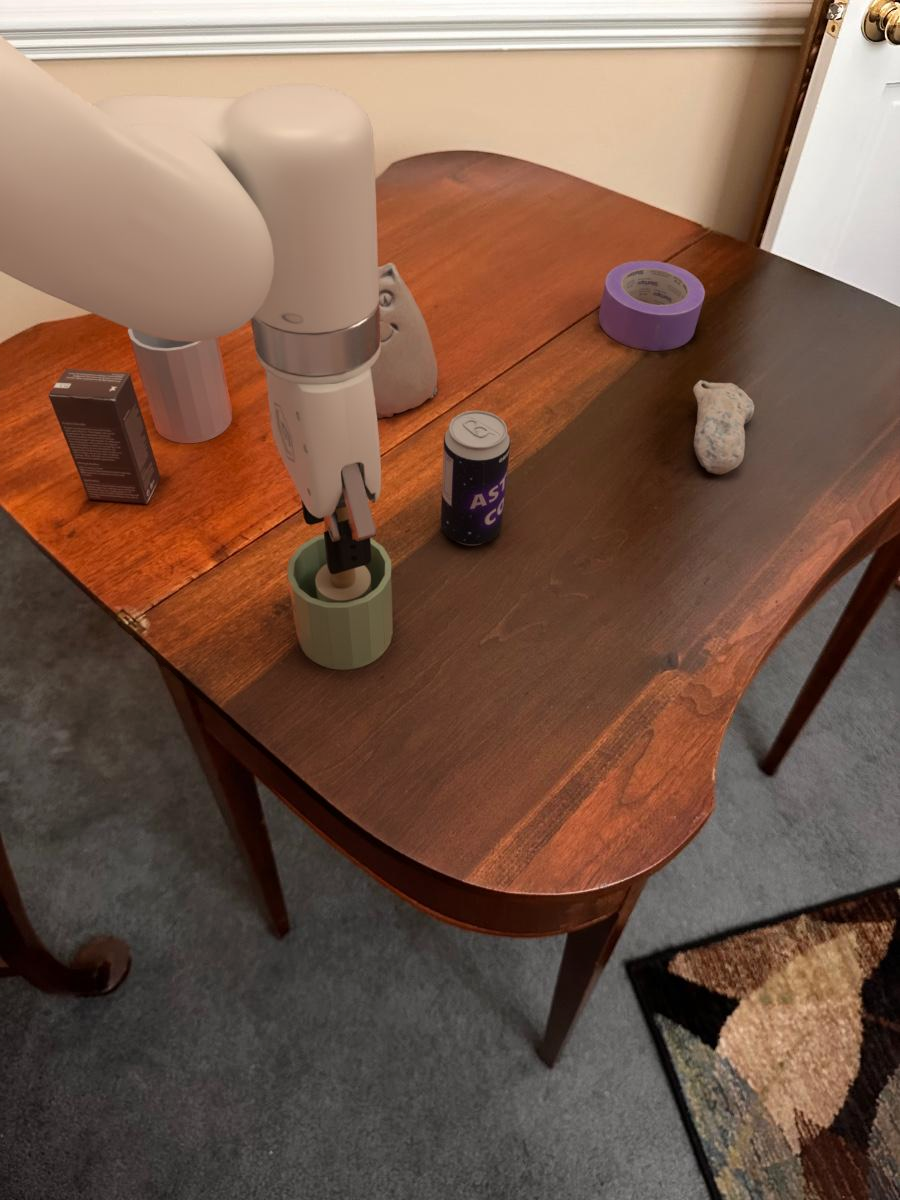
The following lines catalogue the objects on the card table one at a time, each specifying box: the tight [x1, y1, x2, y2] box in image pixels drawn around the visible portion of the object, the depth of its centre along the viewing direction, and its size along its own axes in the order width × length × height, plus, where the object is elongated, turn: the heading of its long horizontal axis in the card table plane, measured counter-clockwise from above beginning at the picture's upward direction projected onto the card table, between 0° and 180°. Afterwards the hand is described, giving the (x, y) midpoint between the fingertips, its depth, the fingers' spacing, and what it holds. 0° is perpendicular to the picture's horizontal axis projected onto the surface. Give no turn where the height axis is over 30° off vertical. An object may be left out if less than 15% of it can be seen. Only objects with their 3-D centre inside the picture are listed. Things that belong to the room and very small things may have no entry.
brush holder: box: [286, 533, 394, 671], centre depth 71 cm, size 8×8×8 cm
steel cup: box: [127, 328, 233, 444], centre depth 87 cm, size 8×8×11 cm
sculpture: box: [370, 262, 439, 419], centre depth 90 cm, size 13×12×15 cm
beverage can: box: [440, 410, 511, 546], centre depth 77 cm, size 6×6×12 cm
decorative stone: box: [692, 380, 755, 475], centre depth 90 cm, size 13×7×5 cm, turn 171°
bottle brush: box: [315, 506, 372, 603], centre depth 67 cm, size 4×4×16 cm
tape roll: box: [598, 260, 706, 352], centre depth 104 cm, size 12×12×5 cm
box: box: [47, 368, 161, 505], centre depth 80 cm, size 6×4×12 cm
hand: (336, 539), depth 65 cm, fingers open, 4 cm apart
